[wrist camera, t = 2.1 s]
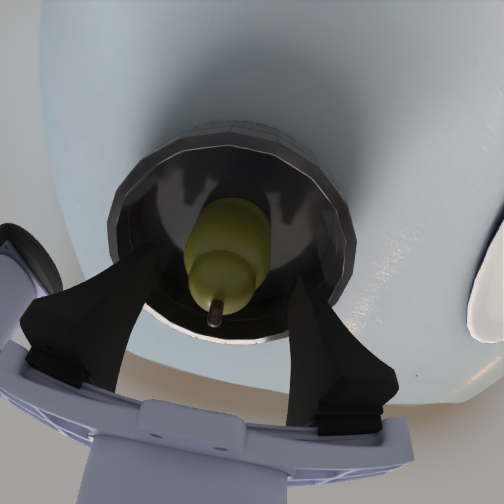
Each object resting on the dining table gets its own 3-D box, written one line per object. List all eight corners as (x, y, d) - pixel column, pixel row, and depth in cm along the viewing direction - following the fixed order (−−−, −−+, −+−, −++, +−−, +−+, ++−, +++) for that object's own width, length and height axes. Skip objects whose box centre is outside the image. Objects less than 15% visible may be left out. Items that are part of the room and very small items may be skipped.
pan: (197, 318, 23) (187, 357, 19) (101, 181, 16) (67, 208, 13) (357, 273, 19) (371, 313, 16) (295, 84, 13) (305, 85, 9)
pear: (216, 270, 19) (195, 363, 13) (182, 213, 17) (137, 299, 10) (281, 249, 18) (286, 346, 12) (252, 185, 15) (240, 267, 9)
